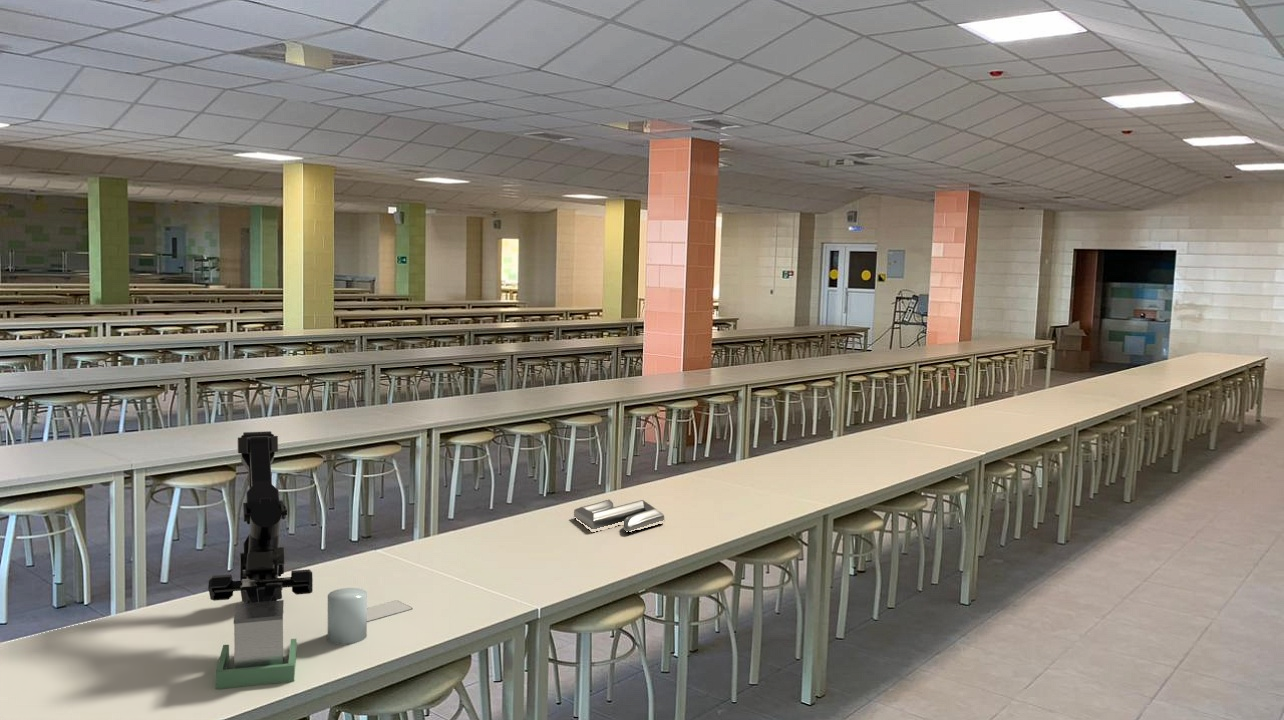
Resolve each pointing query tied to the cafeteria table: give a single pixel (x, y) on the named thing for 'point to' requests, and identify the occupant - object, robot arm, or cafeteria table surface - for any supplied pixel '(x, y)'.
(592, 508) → the emblem
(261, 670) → the bay
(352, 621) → the round-topped grey cylinder
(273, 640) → the tin
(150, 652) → the cafeteria table surface
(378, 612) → the smartphone
